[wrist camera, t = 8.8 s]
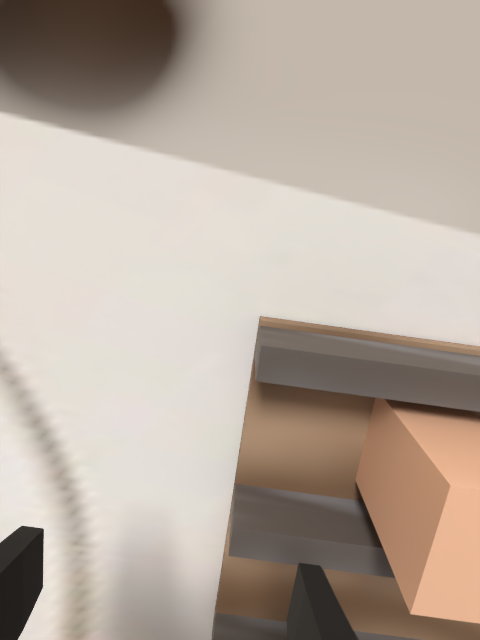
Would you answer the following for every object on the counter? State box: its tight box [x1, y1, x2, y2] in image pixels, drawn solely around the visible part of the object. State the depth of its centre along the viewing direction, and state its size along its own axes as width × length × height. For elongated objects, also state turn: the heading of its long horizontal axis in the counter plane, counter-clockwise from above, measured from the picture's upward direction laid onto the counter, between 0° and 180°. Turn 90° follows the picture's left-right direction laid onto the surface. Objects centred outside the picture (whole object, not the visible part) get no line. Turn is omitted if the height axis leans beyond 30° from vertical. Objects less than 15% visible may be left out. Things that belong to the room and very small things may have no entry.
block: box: [355, 398, 480, 624], centre depth 16 cm, size 5×4×7 cm
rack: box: [212, 316, 480, 640], centre depth 19 cm, size 19×16×4 cm
